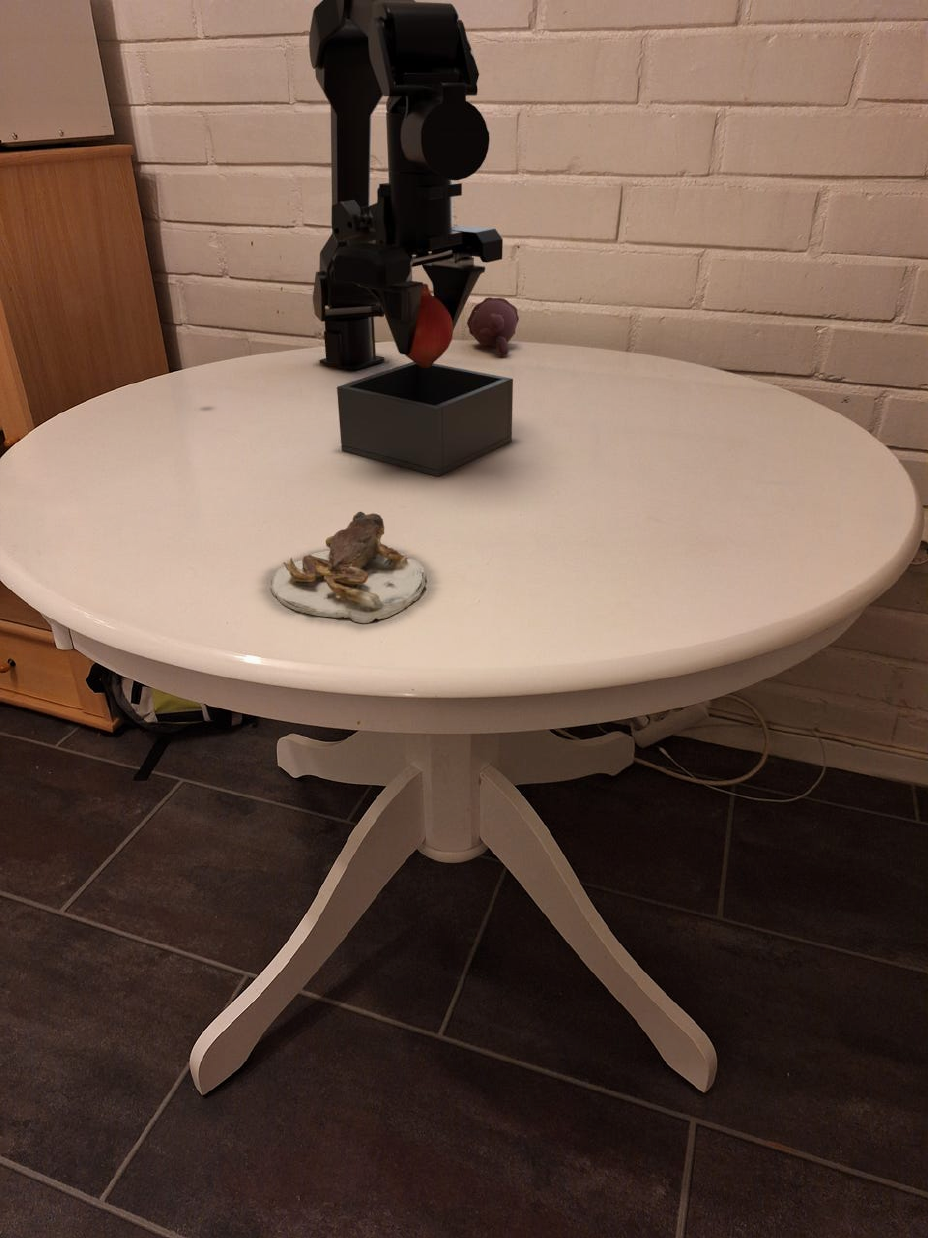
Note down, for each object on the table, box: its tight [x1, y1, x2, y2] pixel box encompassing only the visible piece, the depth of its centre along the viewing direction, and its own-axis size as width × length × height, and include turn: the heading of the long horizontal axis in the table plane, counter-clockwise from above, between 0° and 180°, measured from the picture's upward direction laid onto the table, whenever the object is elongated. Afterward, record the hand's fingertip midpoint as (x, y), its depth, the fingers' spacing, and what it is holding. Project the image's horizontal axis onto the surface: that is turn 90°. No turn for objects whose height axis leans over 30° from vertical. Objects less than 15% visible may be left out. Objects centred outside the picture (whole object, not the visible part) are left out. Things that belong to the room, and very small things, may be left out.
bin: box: [336, 361, 514, 477], centre depth 92 cm, size 13×13×7 cm
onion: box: [405, 283, 454, 368], centre depth 88 cm, size 6×6×8 cm
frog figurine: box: [270, 511, 427, 624], centre depth 67 cm, size 12×12×4 cm
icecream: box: [466, 296, 520, 358], centre depth 129 cm, size 7×7×15 cm
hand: (424, 347), depth 89 cm, fingers closed on onion, 6 cm apart
